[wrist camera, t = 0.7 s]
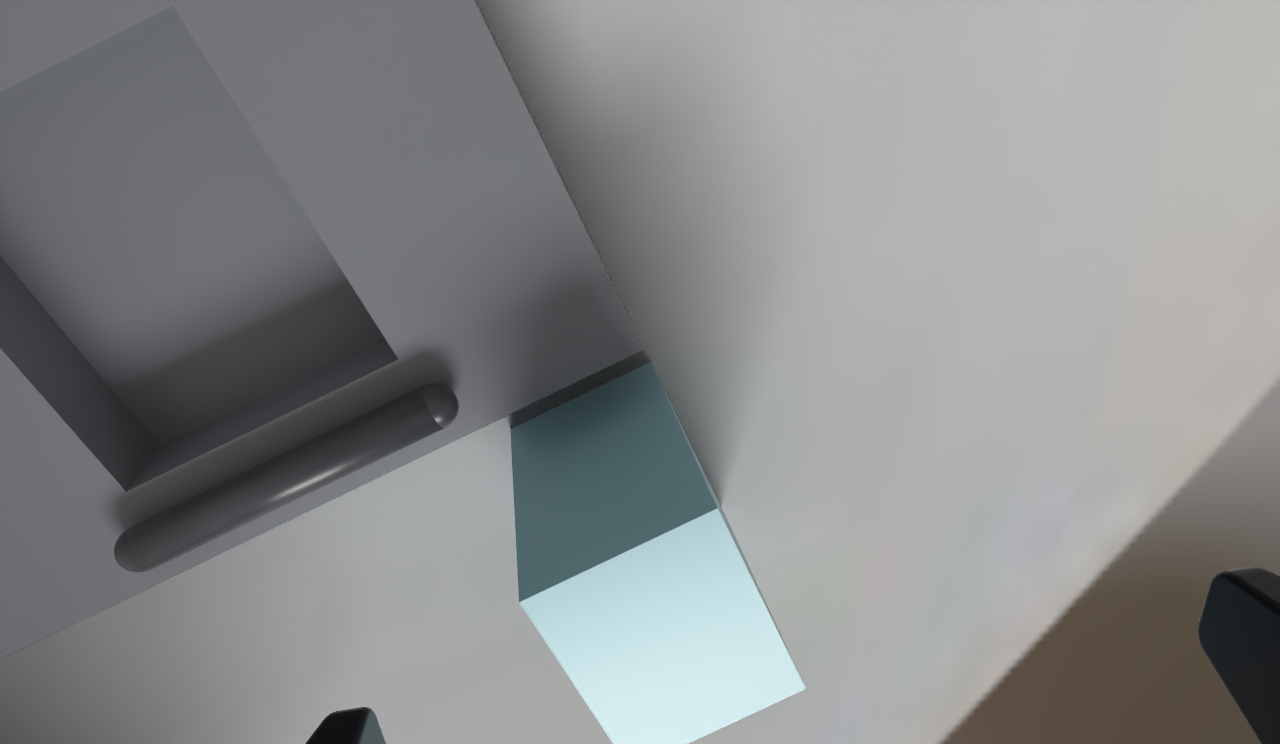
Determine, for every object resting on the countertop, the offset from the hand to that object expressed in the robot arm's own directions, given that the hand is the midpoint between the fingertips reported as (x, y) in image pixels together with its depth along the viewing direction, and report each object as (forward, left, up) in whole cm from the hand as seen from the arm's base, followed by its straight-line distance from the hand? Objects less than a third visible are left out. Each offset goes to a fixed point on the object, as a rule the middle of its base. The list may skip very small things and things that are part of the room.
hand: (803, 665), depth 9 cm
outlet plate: (-8, +6, -13) cm, 16 cm away
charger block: (-2, -4, -13) cm, 14 cm away
